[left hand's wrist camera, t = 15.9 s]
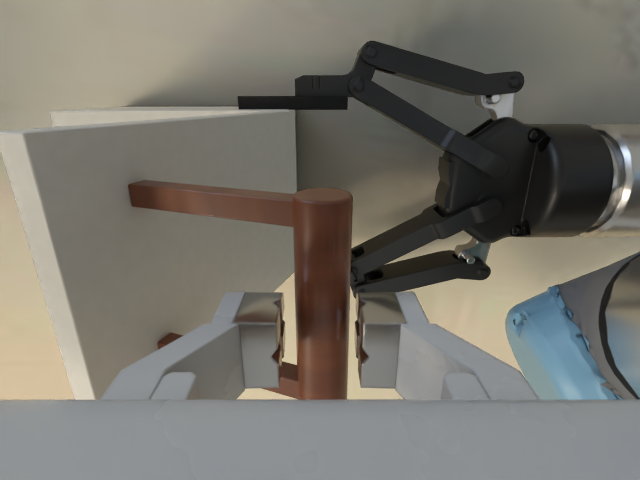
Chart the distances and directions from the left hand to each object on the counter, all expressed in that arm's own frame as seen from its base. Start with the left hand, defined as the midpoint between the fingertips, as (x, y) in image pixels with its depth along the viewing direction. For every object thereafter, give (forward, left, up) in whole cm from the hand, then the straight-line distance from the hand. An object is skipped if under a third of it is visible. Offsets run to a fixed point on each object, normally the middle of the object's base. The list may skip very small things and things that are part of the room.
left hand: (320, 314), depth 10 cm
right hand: (-2, +4, -17) cm, 17 cm away
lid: (-2, +4, -7) cm, 8 cm away
